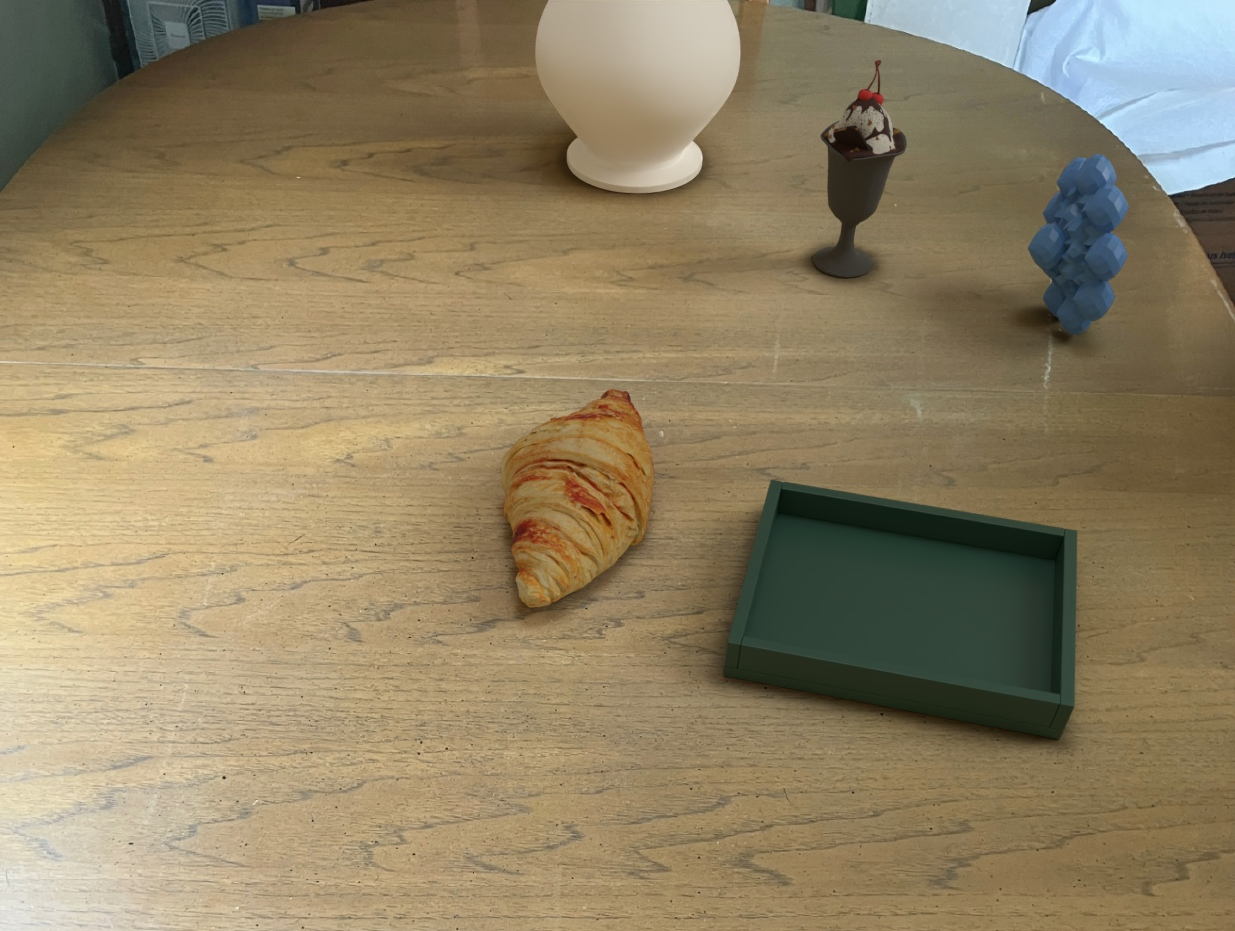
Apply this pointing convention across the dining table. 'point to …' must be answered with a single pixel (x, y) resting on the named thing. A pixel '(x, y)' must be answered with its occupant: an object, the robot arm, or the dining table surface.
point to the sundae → (857, 175)
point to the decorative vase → (637, 84)
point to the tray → (910, 608)
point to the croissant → (577, 496)
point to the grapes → (1081, 243)
